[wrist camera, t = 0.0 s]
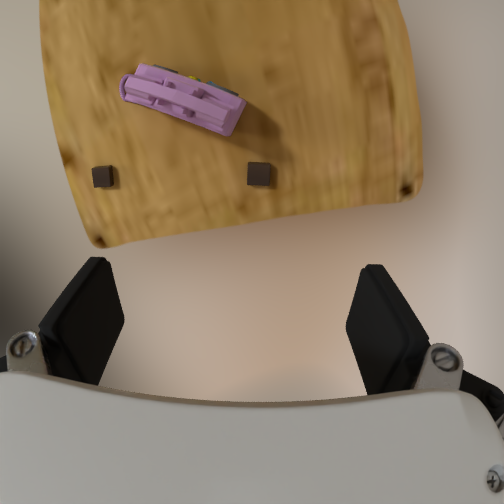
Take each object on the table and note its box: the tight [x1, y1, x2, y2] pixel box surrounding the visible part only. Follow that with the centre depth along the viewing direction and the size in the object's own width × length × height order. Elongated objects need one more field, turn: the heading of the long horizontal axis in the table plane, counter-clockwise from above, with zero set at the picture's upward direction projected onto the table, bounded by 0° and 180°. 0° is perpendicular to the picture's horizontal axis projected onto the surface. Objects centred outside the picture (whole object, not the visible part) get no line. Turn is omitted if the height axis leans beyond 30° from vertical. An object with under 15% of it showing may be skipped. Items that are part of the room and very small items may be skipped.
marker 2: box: [247, 162, 271, 186], centre depth 39 cm, size 3×3×1 cm
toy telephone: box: [119, 64, 247, 136], centre depth 29 cm, size 18×6×10 cm, turn 65°
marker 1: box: [92, 165, 114, 188], centre depth 38 cm, size 3×3×1 cm
